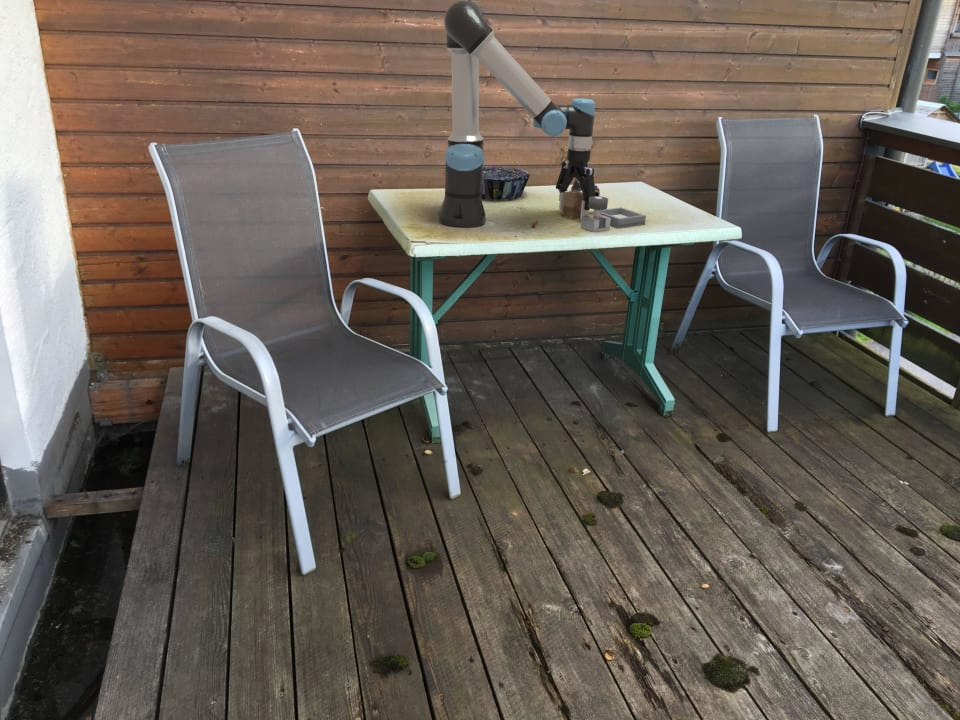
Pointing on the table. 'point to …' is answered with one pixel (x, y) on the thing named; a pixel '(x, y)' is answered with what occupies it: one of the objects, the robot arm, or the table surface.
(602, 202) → the wheel
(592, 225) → the axle mount
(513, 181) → the decorative bowl
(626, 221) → the chassis bay
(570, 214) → the walnut block
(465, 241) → the table surface
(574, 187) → the toy gun
